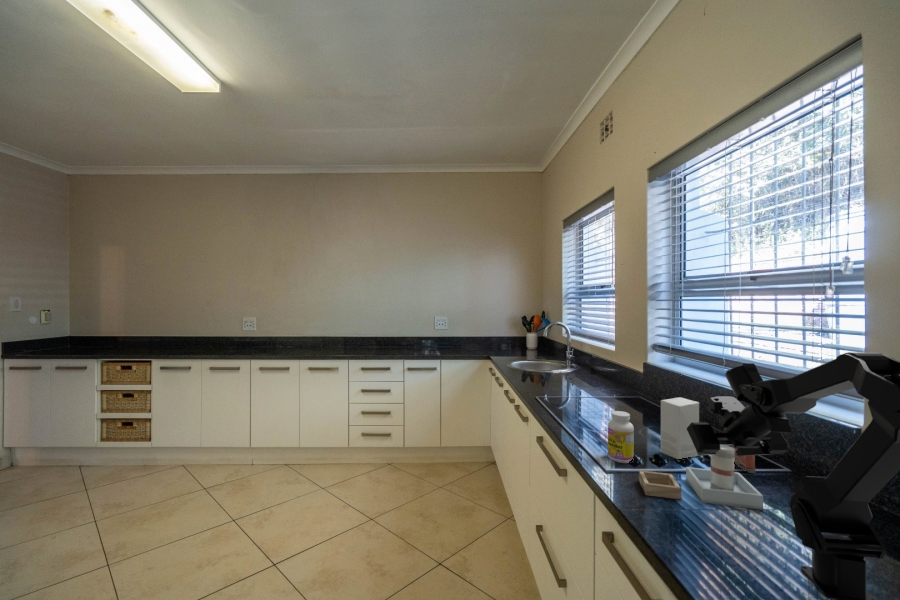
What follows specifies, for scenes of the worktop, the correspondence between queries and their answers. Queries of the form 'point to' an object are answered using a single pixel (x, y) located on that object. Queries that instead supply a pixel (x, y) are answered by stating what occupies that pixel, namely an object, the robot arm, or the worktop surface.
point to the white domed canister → (723, 469)
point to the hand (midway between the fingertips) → (717, 453)
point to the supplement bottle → (620, 438)
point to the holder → (659, 484)
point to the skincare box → (678, 427)
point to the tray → (739, 497)
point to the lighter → (745, 462)
